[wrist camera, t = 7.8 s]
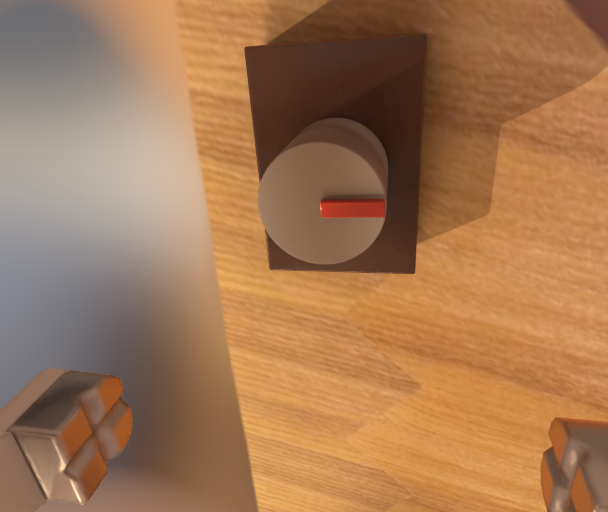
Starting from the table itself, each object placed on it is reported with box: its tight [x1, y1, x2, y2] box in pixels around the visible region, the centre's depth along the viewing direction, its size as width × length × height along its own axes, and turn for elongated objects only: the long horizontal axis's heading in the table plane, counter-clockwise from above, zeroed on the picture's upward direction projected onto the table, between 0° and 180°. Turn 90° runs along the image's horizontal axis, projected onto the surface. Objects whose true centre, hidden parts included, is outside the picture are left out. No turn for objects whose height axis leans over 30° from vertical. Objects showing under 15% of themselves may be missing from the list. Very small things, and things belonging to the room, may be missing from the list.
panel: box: [244, 34, 427, 274], centre depth 20 cm, size 10×7×3 cm
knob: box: [258, 118, 388, 264], centre depth 17 cm, size 4×4×5 cm
